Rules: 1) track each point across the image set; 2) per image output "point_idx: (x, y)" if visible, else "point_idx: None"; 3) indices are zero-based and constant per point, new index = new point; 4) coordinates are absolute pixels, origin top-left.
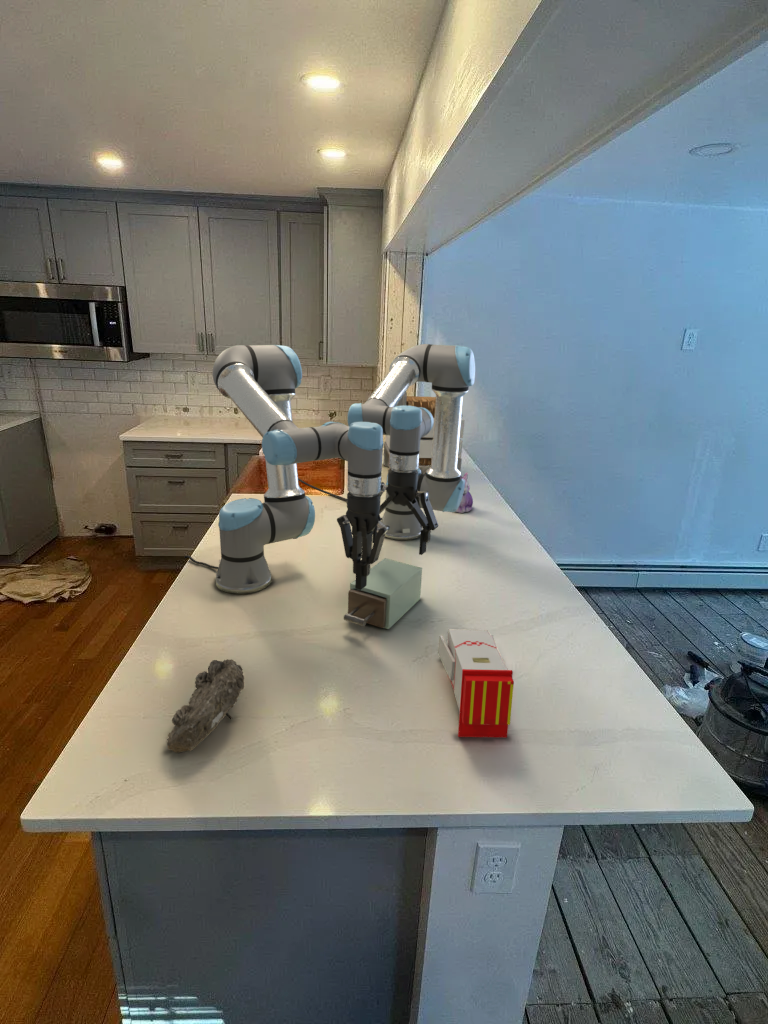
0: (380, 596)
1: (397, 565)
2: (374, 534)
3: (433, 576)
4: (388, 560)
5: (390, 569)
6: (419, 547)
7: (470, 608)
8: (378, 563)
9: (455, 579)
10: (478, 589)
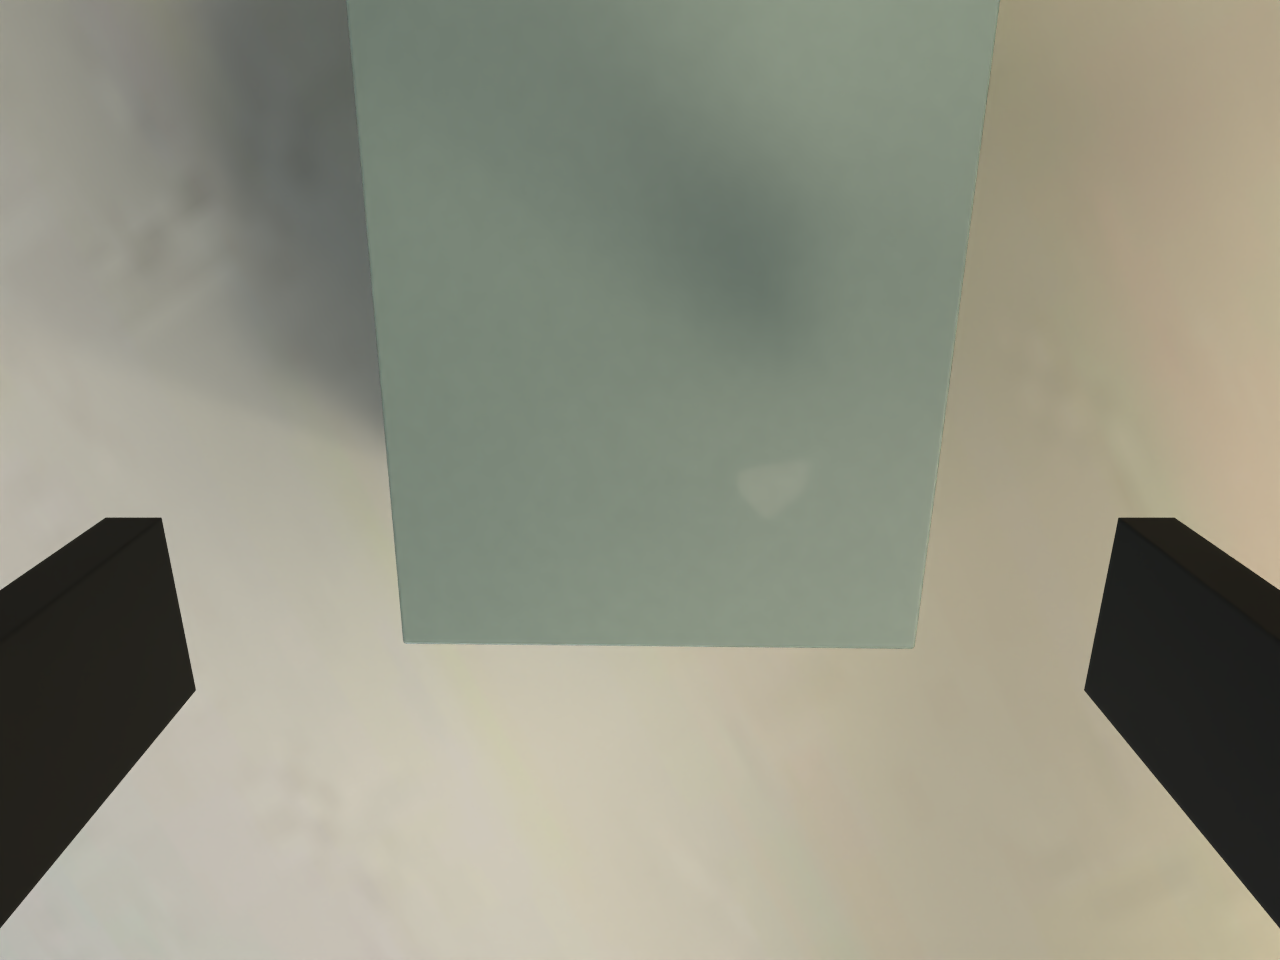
0: None
1: (687, 546)
2: (1257, 604)
3: (565, 863)
4: (847, 610)
5: (713, 400)
6: (79, 584)
7: None
8: (927, 472)
9: (403, 898)
10: (186, 848)
